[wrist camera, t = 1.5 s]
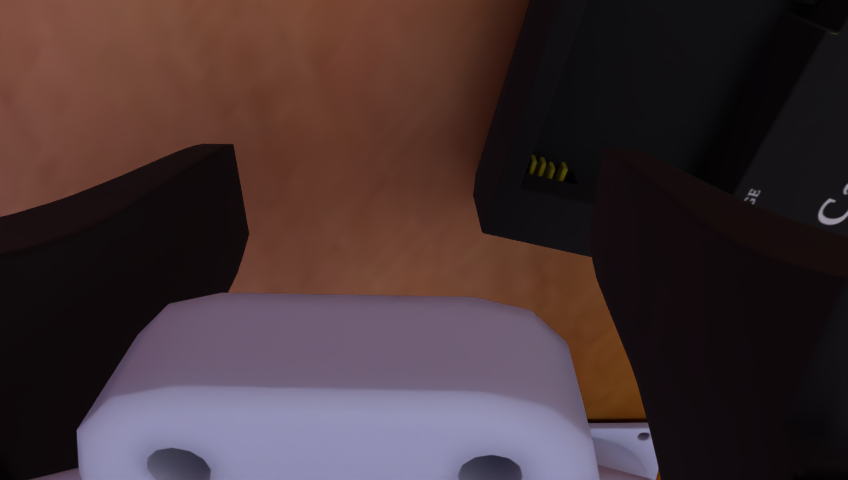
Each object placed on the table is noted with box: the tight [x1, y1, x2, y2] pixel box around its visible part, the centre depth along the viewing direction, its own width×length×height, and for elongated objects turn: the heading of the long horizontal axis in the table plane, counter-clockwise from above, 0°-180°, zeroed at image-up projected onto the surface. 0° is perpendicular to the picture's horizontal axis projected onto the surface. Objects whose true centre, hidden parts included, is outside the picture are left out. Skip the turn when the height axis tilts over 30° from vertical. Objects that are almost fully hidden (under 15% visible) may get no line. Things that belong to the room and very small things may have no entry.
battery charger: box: [473, 0, 848, 257], centre depth 18 cm, size 13×10×4 cm
